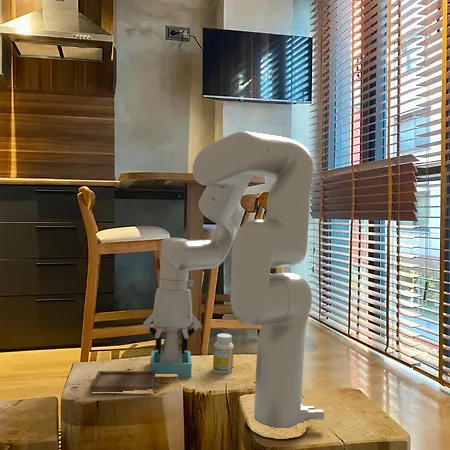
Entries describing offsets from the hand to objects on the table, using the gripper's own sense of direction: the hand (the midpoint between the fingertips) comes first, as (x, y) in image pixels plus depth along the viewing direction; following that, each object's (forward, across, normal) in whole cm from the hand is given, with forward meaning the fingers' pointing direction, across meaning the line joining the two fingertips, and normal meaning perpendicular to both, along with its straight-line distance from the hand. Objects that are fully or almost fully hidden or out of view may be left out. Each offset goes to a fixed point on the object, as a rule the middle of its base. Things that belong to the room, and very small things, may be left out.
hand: (171, 351), depth 129 cm
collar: (+5, 0, 0) cm, 5 cm away
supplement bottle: (+5, -14, 0) cm, 15 cm away
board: (+5, +11, +11) cm, 16 cm away
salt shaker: (+5, 0, 0) cm, 5 cm away
